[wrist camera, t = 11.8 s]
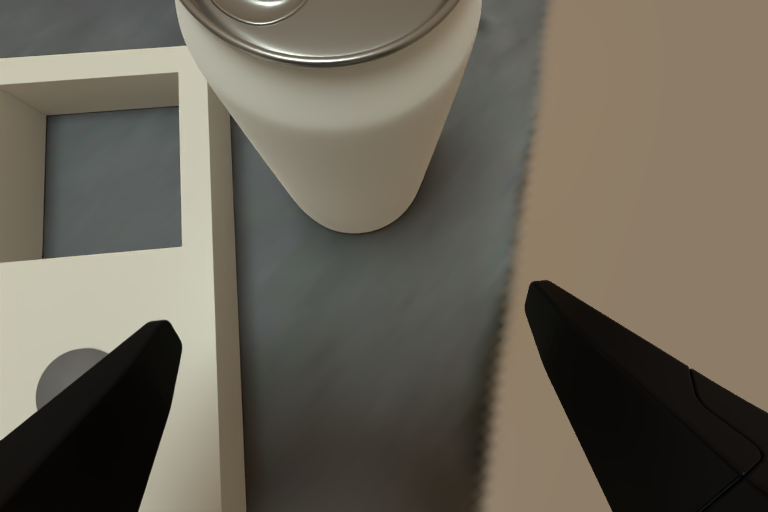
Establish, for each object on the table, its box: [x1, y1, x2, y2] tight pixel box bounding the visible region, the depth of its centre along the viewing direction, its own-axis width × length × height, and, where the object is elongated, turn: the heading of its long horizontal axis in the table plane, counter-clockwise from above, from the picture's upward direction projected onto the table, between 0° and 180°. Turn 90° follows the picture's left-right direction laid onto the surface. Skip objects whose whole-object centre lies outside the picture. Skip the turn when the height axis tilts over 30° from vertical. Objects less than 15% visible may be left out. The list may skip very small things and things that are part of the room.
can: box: [175, 0, 482, 233], centre depth 12 cm, size 6×6×12 cm
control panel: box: [0, 46, 246, 512], centre depth 15 cm, size 26×10×3 cm, turn 5°
